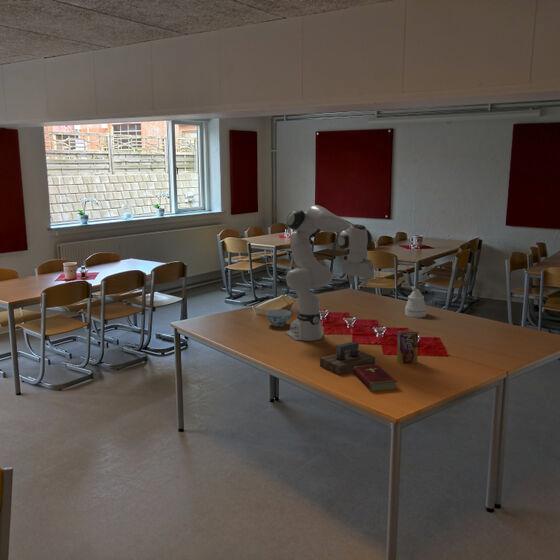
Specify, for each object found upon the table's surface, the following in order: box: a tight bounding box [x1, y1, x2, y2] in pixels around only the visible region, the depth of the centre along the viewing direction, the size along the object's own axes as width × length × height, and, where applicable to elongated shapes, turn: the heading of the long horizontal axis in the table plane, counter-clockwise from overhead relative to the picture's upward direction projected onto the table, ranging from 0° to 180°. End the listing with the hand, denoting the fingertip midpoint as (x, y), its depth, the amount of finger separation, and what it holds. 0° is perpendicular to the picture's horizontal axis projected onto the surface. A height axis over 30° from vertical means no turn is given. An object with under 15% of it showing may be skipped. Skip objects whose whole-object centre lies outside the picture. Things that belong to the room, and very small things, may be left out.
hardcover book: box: [352, 363, 398, 392], centre depth 244 cm, size 12×21×4 cm, turn 12°
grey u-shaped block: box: [335, 341, 360, 361], centre depth 264 cm, size 3×11×10 cm, turn 123°
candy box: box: [396, 329, 419, 365], centre depth 266 cm, size 9×4×15 cm, turn 96°
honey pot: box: [404, 286, 427, 318], centre depth 352 cm, size 13×13×18 cm
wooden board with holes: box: [319, 349, 376, 375], centre depth 264 cm, size 14×22×4 cm, turn 123°
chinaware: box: [265, 309, 292, 327], centre depth 334 cm, size 15×15×8 cm
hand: (357, 285), depth 279 cm, fingers open, 8 cm apart
